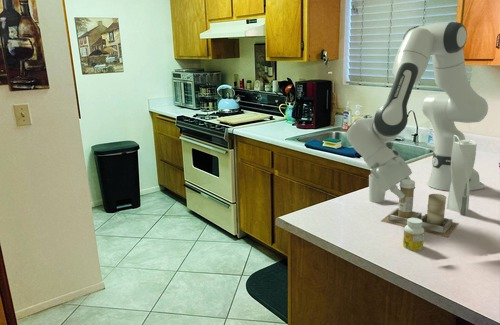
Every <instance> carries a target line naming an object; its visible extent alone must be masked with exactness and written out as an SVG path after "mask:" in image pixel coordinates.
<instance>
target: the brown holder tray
mask: <svg viewBox="0 0 500 325" xmlns="http://www.w3.org/2000/svg"><path fill="white" fill-rule="evenodd" d="M398 211H399V207H397V208H395V209H394V210H393V211H391V212H390V213H389V214H387V215H386V216H385V217H384V218H383V219H382V220H380V222H382V223H386V224H391V225H394V226H398V227H403V228H405V226H406V225H407V218H403V217H398ZM412 218H418V219H420V220H422V227H423V229H424V233H428V234H432V235H437V236H441V237H445V238H449V237H450V236H451V234H452V233H453V232H454V231H455V230H456V228H457V227H458V226H459V224H460V222H459V223H458V222H454V221H453V219H452V218H446V217H444V223H443V227H442V226H438V225H433V224H429V223H426V220H427V213H425V214H424V215H423V214H422V212H419V211H415V210H412Z"/></svg>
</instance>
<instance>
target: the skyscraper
mask: <svg viewBox="0 0 500 325" xmlns="http://www.w3.org/2000/svg"><path fill="white" fill-rule="evenodd" d="M455 136H456V135H454V136H453V147H452V155H451V179H452V181H451V185H450V190H449V191H448V196H447V202H446V207H445V210H450V211H452V212H456V213H459V215H460V216H464V217H465V216H466V212H467V211H469V208H470V207H469V206H470V205H469V204H470V191H469V179H470V176H471V174H472V171H473V169H474V167H475V163H476V155H477V142H476V141H474V140H473V139H469V140H468V139H465V140H460V139H459V138H458V136H456V137H457V138H458V141H459V142H455Z"/></svg>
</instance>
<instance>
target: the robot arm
mask: <svg viewBox="0 0 500 325" xmlns="http://www.w3.org/2000/svg"><path fill="white" fill-rule="evenodd" d="M467 38H468V32H467V28H466V27H465V26H464V24H463V23H461V22H458V21H450V22H435V23H434V22H433V23H431V24H430V23H429V24H424V25H420V26H419V25H417V26H413V27H411V28H409V29H408V30H406V32H405V34H404V35H403V38H402V42H401V44H400V46H398V47H399V48H398V50H397V52H396V55H395V58H394V61H393V64H392V71H391V73H392V76H393V78H394V80H393V83H392V86H391V89H390V92H389V94H388V95H387V96H388V97H387V99H386V100H385V102H384V103H383V104H382V105H381V106H380V107H379V108H378V109H377V110H376V112H375V114H374V116H373V117H368V118H367V117H365V118H361V117H360V118H357V119H355V120H354V121H353V122H352V123H351V124H350V125H349V126H348V128H347V130H346V132H345V133H346V138H347V140H348V142H349V144H350V145H351V146H352V148H353V149H354V151H356V153H358V154H359V155H360V156H361V157H362V159H363V161H364V162H365V164H366V165H367V166H368V167H369V169H370V174H372V177H373V179H374V181H375V182H376V184H377V185H378V186H379V188H380V189H381V190H382V191H384V192H385V193H386V192H387V191H390V192H391V193H393V194H394V195H395V196H397V197H398V200H399V199H402V198H403V197H405V194H404V192H403V191H402V192H401V191H400V189H399V188H398V187H399V186H398V184H400V181H401V180H404V179H408V180H412V179H411V177H410V176H411V175H412V174H413V172H412V169H411V167H410V166H409V165H408V164H407V162H406V161H405V160H404V159H403V157H401V156H400V155H401V154H400V152H399V151H398V150H397V149H391V148H389V147H388V146H387V145H386V144H389V143H391V142H392V141H395V140H396V139H398V137H399V135H400V134H401V133H402V132H403V131H404V130H405V128H406V126H407V125H408V121H409V120H408V119H409V118H408V117H409V116H408V108H407V107H408V104H409V100H410V97H411V94H412V92H413V88H414V86H415V84H416V83H418V82H419V81H420V80H421V79H422V77H423V75H424V74H425V71H426V69H427V68H428V66H429V61H430V58H431V59H432V61H431V62H432V68H433V70H432V71H433V75H434V83H435V85H436V87H437V88H439V89H440V90H442V91H444V92H445V93H443V92H442V93H440V92H439V93H434V94H428V95H427V96H426V97H425V98H424V100H423V101H422V105H421V110H422V113H423V115H424V116H425V117H426V118H427V119H428V120H429V122H430V123H431V125H432V127H433V131H434V152H433V153H432V167H431V172H430V176H429V178H428V181H427V186H428V187H431V188H433V189H435V190H441V191H445V192H447V191H448V192H449V190H450V185H451V181H452V179H451V155H452V147H453V136H454V135H456V136H458V138H459V139H460V140H466V137H465V136H466V135H464V133H463V132H462V131H460V130H459V129H458V128H457V127H456V125H455V122H456V123H463V124H470V123H471V124H472V123H479V122H481V121H483V120H484V119H485V118H486V116H487V115H488V112H489V104H488V102H487V100H486V98H484V97H482V96H481V95H480V94H478V92H476V91H475V90H474V88H473V87H472V86H471V84H470V82H469V80H468V76H467V71H466V62H465V53H464V49H463V48H464V47H465V45H466V44H467ZM456 136H455V142H459V141H458V138H457V137H456ZM480 181H481V180H480V174H479V172H478V170H476V169H475V168H473V171H472V174H471V176H470V179H469V192H470V191H477V190H478V191H479V190H483V189H486V185H485V184H484V183H482V182H480ZM415 189H416V186H415V187H414V190H415Z"/></svg>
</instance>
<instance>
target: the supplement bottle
mask: <svg viewBox="0 0 500 325" xmlns="http://www.w3.org/2000/svg"><path fill="white" fill-rule="evenodd" d="M403 228H404V229H403V239H402V240H403V241H402V246H403V248H405V249H406V250H409V251H413V252H420V251H422V250H423V248H424V241H425V232H424V229H423V227H422V220H420V219H418V218H408V219H407V225H406V226H405V227H403Z"/></svg>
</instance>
